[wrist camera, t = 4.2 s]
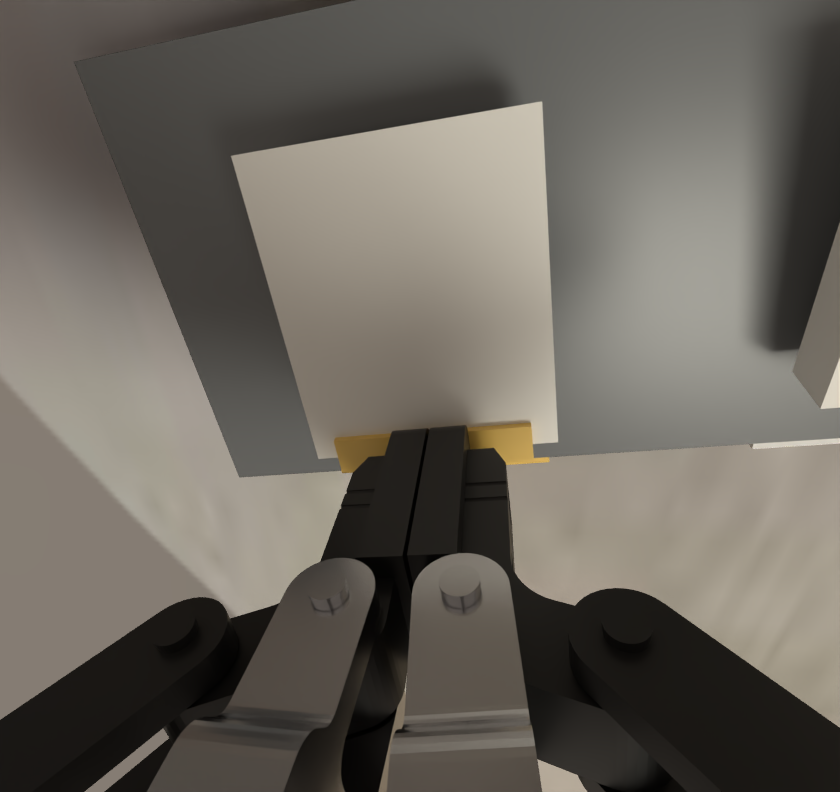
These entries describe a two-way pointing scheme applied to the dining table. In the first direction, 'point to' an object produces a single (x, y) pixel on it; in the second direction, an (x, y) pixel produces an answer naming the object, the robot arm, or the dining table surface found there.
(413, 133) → the switch
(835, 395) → the switch
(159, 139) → the switch box
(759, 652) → the dining table surface
